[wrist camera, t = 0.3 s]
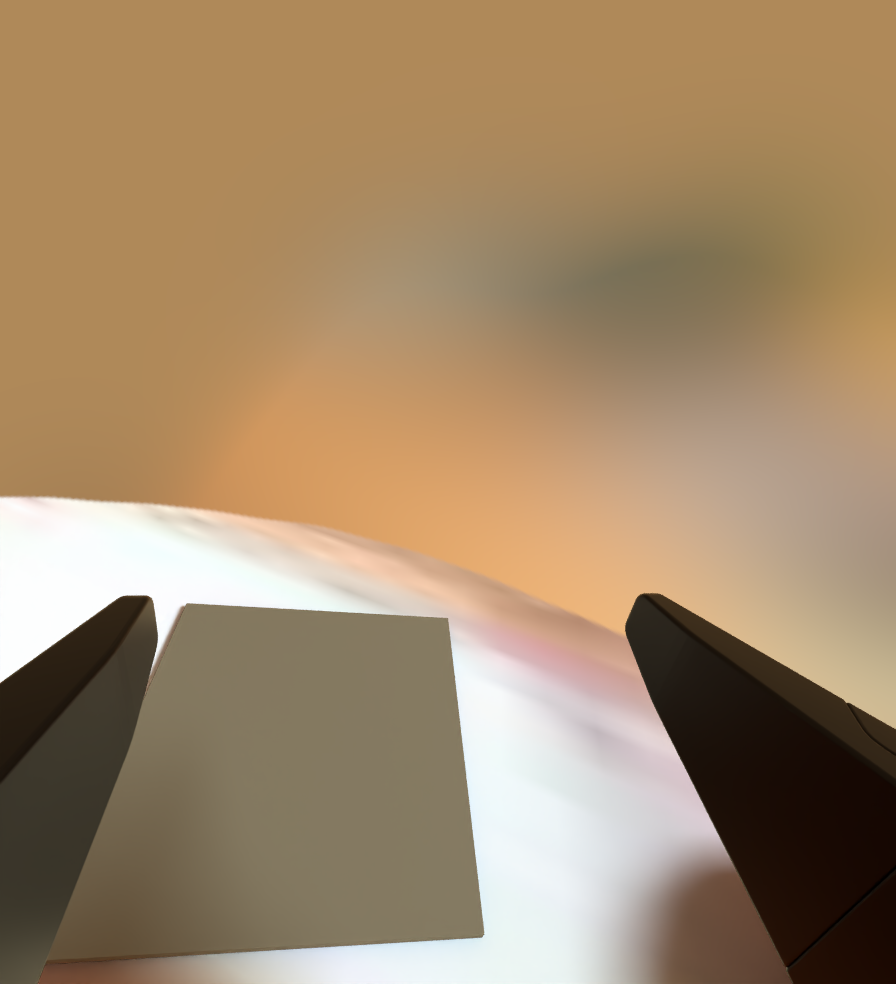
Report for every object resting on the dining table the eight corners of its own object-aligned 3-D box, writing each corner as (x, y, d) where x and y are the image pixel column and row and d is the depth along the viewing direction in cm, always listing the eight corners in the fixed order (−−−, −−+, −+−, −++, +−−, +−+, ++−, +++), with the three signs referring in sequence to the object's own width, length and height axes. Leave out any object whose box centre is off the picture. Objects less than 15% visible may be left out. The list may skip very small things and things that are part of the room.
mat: (481, 937, 19) (484, 934, 18) (29, 964, 16) (25, 961, 16) (446, 622, 31) (448, 618, 31) (187, 608, 28) (186, 603, 28)
